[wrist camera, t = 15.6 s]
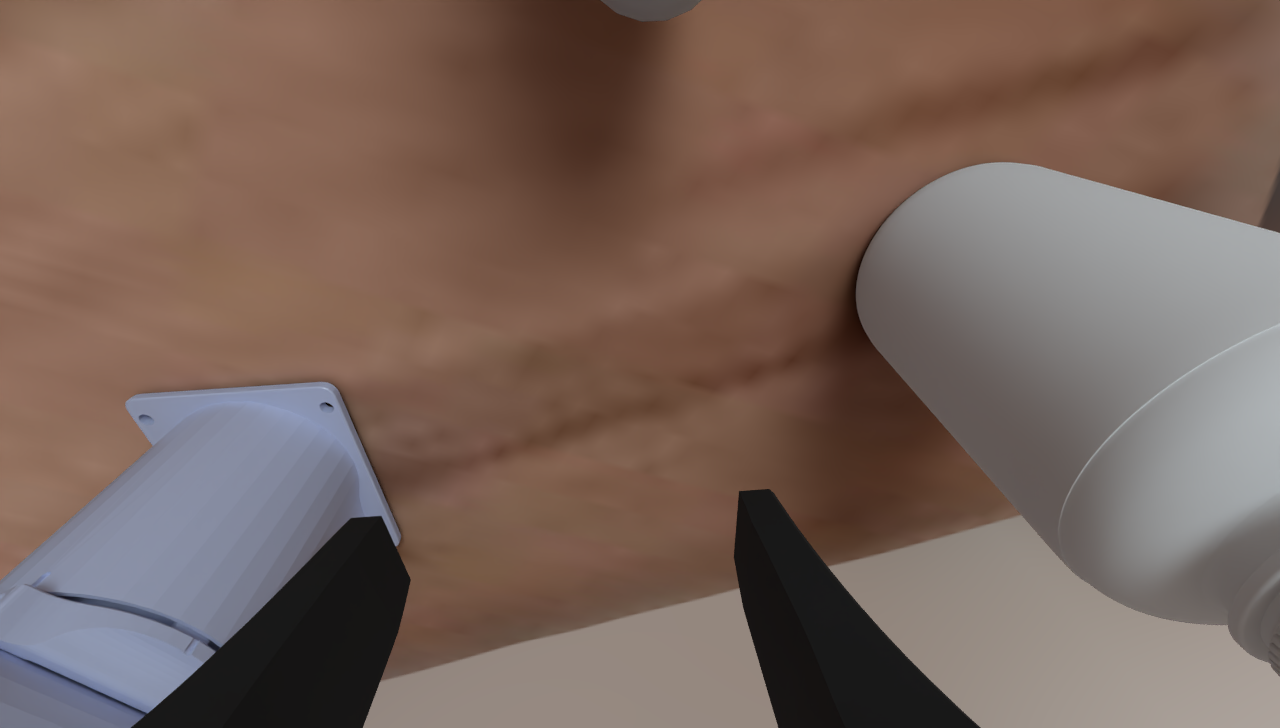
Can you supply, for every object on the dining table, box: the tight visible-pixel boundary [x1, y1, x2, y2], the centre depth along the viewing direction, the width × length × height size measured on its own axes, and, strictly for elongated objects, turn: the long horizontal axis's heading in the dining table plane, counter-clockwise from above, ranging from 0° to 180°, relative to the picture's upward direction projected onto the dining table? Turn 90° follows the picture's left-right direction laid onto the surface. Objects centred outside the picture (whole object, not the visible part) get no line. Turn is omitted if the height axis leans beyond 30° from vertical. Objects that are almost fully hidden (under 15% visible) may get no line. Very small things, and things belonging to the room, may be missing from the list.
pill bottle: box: [856, 162, 1280, 676], centre depth 13 cm, size 8×8×15 cm
